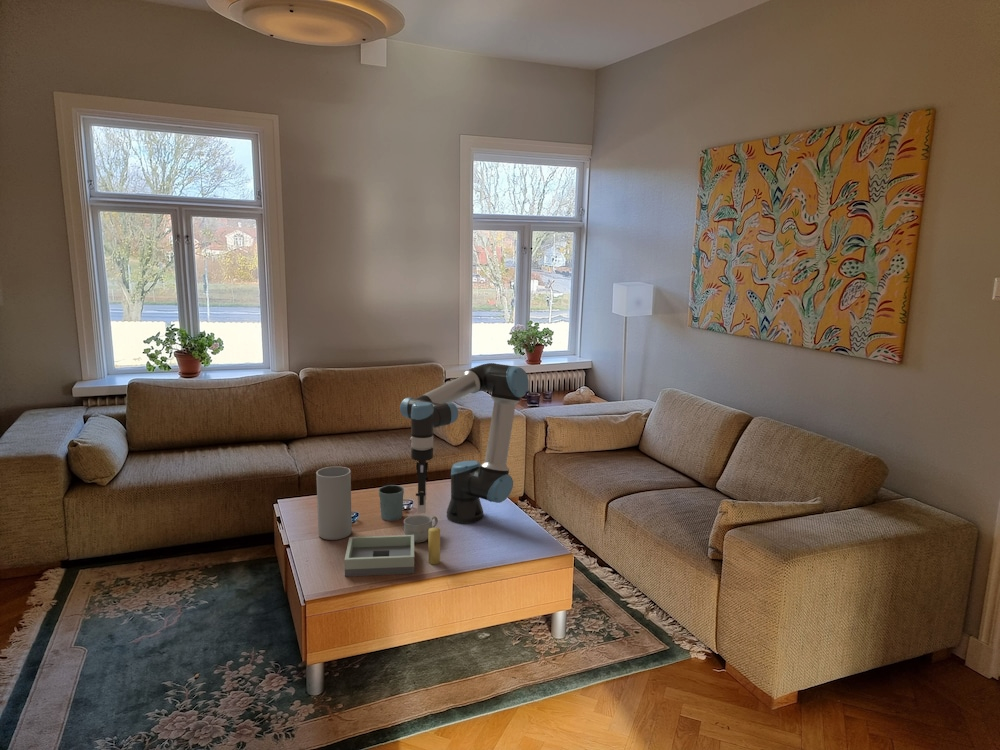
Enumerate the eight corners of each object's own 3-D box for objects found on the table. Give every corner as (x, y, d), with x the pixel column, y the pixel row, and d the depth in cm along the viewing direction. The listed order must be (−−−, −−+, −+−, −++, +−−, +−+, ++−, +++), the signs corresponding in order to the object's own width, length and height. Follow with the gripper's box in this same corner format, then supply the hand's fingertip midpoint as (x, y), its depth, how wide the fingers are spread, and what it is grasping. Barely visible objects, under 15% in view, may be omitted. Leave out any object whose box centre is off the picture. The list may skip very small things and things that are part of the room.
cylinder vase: (343, 542, 248) (341, 478, 244) (312, 538, 251) (310, 475, 246) (357, 529, 260) (355, 467, 256) (327, 526, 263) (325, 465, 258)
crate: (414, 550, 243) (414, 534, 242) (414, 573, 225) (414, 556, 224) (349, 552, 240) (349, 537, 239) (344, 576, 222) (344, 559, 221)
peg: (439, 559, 236) (439, 527, 234) (440, 564, 232) (440, 531, 230) (428, 559, 236) (428, 527, 234) (428, 564, 232) (428, 532, 230)
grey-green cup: (401, 511, 279) (401, 483, 277) (406, 520, 270) (406, 492, 268) (377, 513, 276) (377, 486, 274) (381, 523, 267) (380, 494, 264)
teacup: (409, 547, 245) (409, 527, 244) (399, 536, 255) (399, 516, 253) (444, 540, 251) (444, 520, 250) (433, 530, 261) (433, 510, 259)
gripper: (412, 437, 241) (412, 493, 245) (409, 458, 216) (409, 519, 220) (433, 437, 242) (432, 493, 245) (433, 457, 217) (432, 519, 221)
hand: (422, 505), depth 233 cm, fingers open, 13 cm apart
